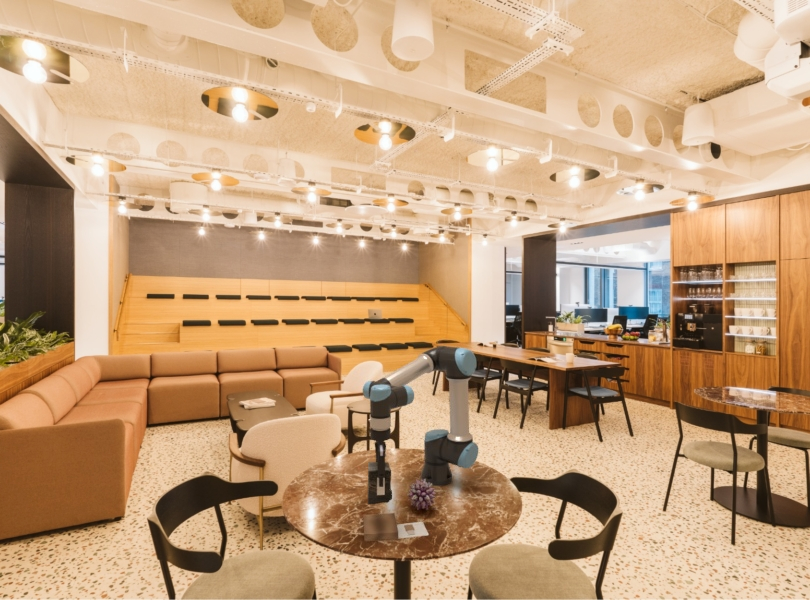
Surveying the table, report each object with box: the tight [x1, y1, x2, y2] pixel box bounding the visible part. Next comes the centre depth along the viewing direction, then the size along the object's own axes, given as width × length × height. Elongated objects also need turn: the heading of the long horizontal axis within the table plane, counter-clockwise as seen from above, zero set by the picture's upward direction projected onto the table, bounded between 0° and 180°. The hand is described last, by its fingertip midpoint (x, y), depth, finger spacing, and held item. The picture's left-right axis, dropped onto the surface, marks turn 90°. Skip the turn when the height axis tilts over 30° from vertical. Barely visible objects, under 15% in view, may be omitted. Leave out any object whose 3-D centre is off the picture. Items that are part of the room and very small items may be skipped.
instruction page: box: [397, 521, 429, 540], centre depth 152 cm, size 12×9×1 cm
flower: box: [407, 478, 437, 511], centre depth 168 cm, size 12×12×12 cm
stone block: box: [367, 461, 393, 505], centre depth 152 cm, size 9×14×5 cm
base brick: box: [362, 512, 399, 542], centre depth 152 cm, size 12×13×3 cm
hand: (380, 489), depth 152 cm, fingers closed on stone block, 6 cm apart
